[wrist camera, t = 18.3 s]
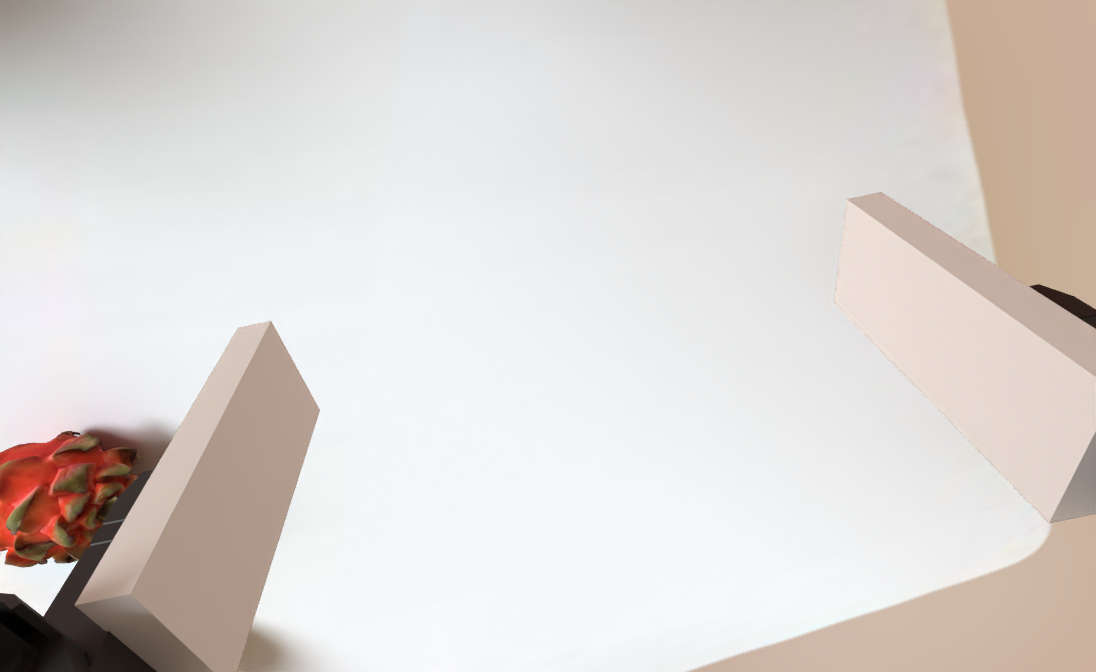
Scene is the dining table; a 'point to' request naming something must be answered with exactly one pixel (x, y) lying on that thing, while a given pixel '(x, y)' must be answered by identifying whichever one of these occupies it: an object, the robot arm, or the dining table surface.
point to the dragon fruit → (58, 496)
